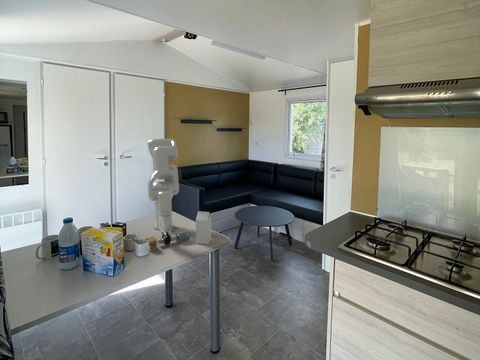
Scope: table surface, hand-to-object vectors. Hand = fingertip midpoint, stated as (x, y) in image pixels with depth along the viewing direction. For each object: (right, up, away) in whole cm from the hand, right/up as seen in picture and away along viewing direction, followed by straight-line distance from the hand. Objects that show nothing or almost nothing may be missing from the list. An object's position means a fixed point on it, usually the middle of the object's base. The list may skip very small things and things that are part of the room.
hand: (166, 241), depth 163 cm
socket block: (-7, -3, -5) cm, 9 cm away
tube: (+3, -1, +2) cm, 4 cm away
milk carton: (+21, -1, +5) cm, 22 cm away
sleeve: (+8, -1, +6) cm, 10 cm away
